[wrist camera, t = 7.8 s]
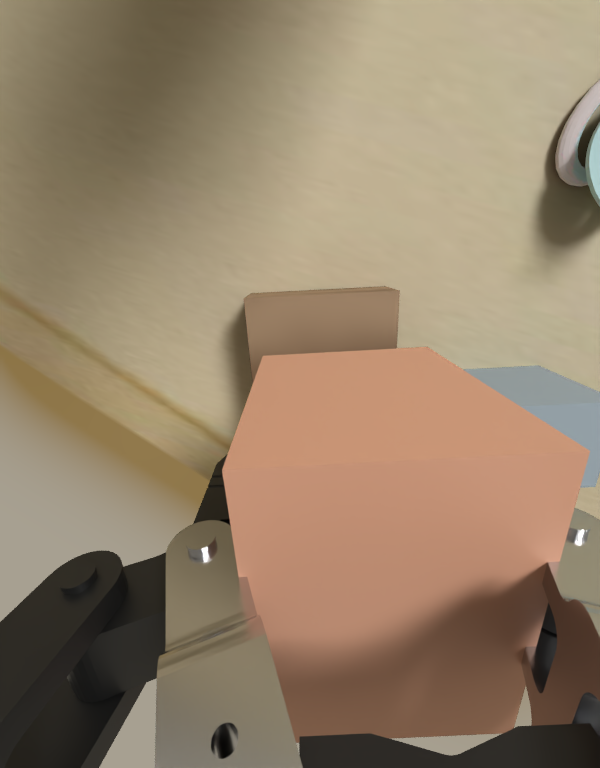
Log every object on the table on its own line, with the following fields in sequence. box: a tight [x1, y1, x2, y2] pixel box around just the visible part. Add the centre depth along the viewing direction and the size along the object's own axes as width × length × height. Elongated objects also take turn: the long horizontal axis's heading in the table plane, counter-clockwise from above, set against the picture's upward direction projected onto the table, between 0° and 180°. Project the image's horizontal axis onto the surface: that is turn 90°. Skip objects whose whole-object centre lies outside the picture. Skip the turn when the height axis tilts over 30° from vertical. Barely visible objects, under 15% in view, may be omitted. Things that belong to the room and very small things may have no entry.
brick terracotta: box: [222, 347, 590, 743], centre depth 8 cm, size 6×5×6 cm
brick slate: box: [463, 366, 600, 488], centre depth 20 cm, size 6×5×6 cm
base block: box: [244, 286, 400, 383], centre depth 20 cm, size 8×8×3 cm
